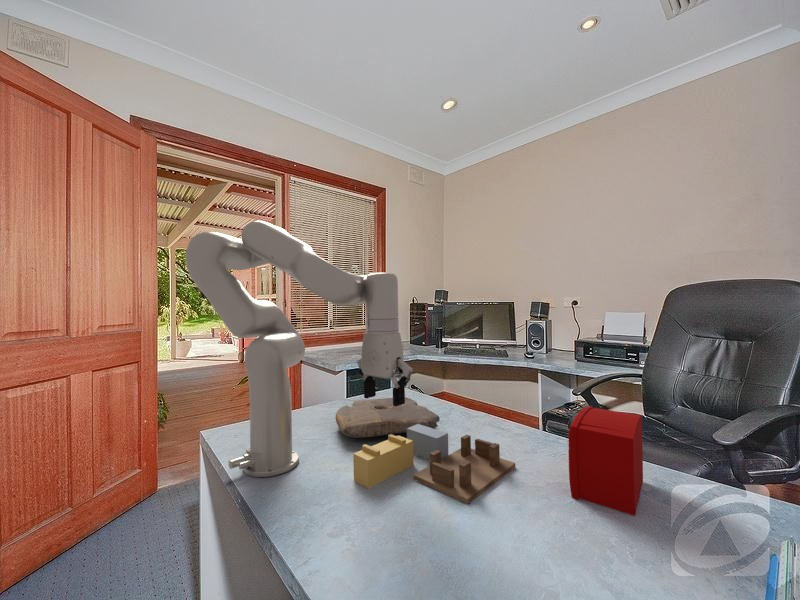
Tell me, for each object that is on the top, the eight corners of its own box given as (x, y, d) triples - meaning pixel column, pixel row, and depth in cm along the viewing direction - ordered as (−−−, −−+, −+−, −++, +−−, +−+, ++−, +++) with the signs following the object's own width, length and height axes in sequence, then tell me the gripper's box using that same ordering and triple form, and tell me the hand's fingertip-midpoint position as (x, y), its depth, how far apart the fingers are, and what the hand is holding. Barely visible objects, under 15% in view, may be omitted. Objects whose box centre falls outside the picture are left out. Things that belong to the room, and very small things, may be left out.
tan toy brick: (368, 489, 73) (367, 455, 73) (353, 480, 76) (353, 448, 77) (413, 466, 83) (413, 436, 83) (398, 459, 86) (398, 431, 86)
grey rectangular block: (437, 463, 84) (436, 438, 84) (407, 451, 91) (406, 428, 91) (448, 457, 87) (448, 433, 87) (418, 446, 94) (418, 423, 94)
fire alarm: (587, 466, 81) (585, 401, 81) (643, 480, 74) (641, 410, 74) (569, 497, 68) (567, 421, 68) (634, 518, 61) (632, 433, 61)
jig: (467, 504, 66) (467, 475, 66) (413, 479, 76) (412, 454, 76) (515, 467, 81) (515, 443, 81) (464, 450, 91) (464, 429, 91)
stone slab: (445, 436, 101) (444, 414, 101) (345, 452, 91) (345, 428, 91) (407, 406, 130) (406, 390, 130) (328, 416, 120) (328, 398, 120)
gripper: (346, 326, 83) (347, 397, 83) (397, 329, 71) (399, 412, 71) (369, 324, 89) (371, 391, 89) (421, 326, 77) (423, 404, 77)
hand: (383, 400), depth 80 cm, fingers open, 9 cm apart
